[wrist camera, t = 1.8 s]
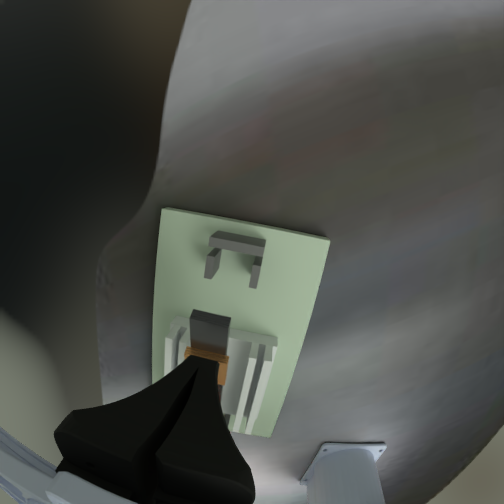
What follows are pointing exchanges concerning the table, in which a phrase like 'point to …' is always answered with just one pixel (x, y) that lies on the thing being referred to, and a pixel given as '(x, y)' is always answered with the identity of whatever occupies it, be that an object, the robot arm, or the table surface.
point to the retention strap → (210, 341)
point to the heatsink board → (237, 304)
